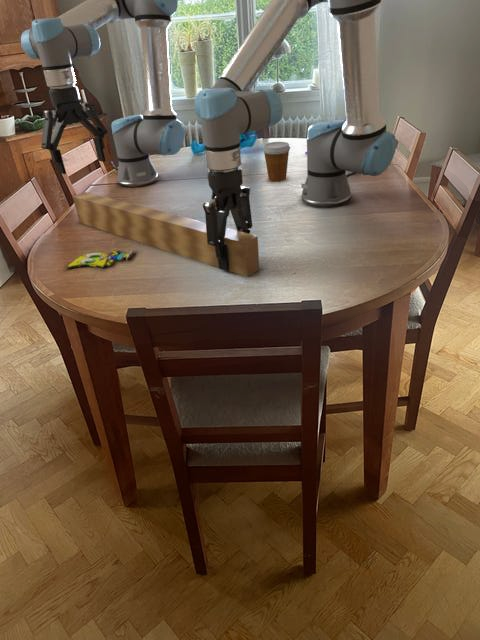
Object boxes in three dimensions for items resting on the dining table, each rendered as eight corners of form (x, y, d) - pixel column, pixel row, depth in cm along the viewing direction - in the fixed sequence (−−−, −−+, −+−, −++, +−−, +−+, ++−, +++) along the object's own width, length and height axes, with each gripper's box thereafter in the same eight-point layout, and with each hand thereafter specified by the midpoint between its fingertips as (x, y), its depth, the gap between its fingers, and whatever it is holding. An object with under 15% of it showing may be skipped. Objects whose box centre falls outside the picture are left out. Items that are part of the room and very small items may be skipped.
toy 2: (195, 134, 218) (257, 114, 208) (203, 157, 223) (264, 139, 213) (184, 143, 204) (250, 123, 194) (193, 168, 209) (257, 149, 199)
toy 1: (121, 265, 120) (65, 266, 122) (122, 268, 120) (66, 269, 122) (134, 248, 128) (81, 249, 130) (135, 251, 129) (82, 251, 131)
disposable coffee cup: (260, 182, 170) (258, 147, 164) (269, 174, 177) (267, 141, 171) (286, 183, 167) (285, 148, 160) (294, 175, 174) (293, 141, 168)
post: (79, 222, 151) (72, 196, 146) (91, 218, 154) (85, 191, 149) (247, 276, 112) (244, 243, 107) (259, 269, 115) (257, 235, 110)
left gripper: (26, 94, 118) (51, 180, 129) (108, 79, 133) (124, 157, 145) (11, 94, 122) (37, 177, 134) (93, 79, 138) (109, 155, 149)
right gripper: (206, 182, 96) (218, 284, 108) (264, 158, 107) (269, 252, 120) (180, 177, 100) (195, 275, 113) (239, 155, 112) (246, 246, 124)
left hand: (82, 167), depth 139 cm, fingers open, 13 cm apart
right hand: (233, 263), depth 116 cm, fingers open, 6 cm apart
